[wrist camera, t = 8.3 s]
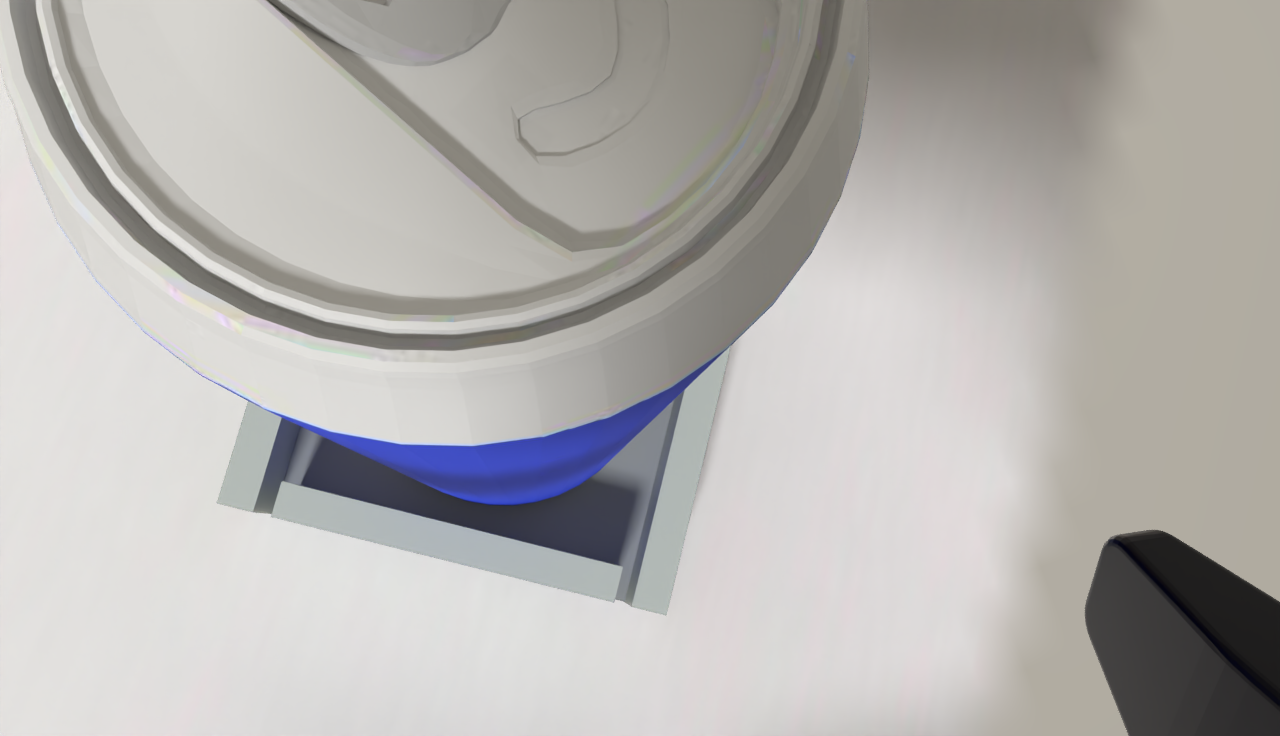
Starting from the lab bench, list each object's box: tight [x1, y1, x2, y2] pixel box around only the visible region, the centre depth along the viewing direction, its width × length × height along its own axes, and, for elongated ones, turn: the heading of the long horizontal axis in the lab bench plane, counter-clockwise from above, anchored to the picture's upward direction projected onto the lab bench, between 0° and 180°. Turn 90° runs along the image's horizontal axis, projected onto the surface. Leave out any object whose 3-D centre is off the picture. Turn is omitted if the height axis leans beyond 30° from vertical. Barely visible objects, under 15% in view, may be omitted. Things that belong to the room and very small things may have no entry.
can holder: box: [217, 346, 731, 615], centre depth 20 cm, size 8×8×2 cm
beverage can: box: [0, 0, 869, 505], centre depth 13 cm, size 5×5×15 cm
